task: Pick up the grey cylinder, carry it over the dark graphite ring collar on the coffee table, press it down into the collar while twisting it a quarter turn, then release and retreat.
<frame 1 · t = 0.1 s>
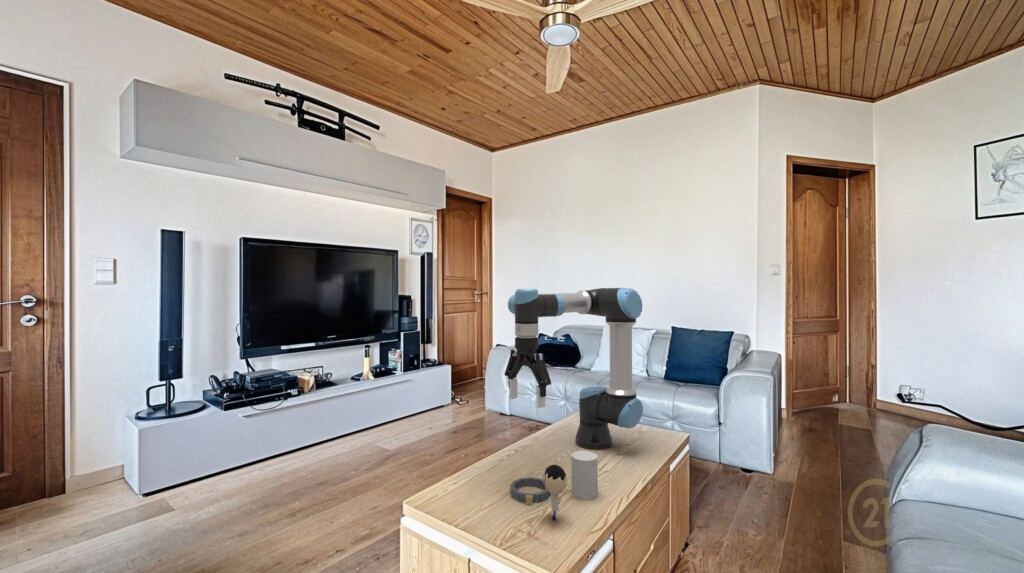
hand: (526, 402, 140), 28 cm above the table, fingers open, 13 cm apart
toy: (555, 520, 122), on the table
collar: (530, 493, 137), on the table
grey cylinder: (584, 494, 137), on the table
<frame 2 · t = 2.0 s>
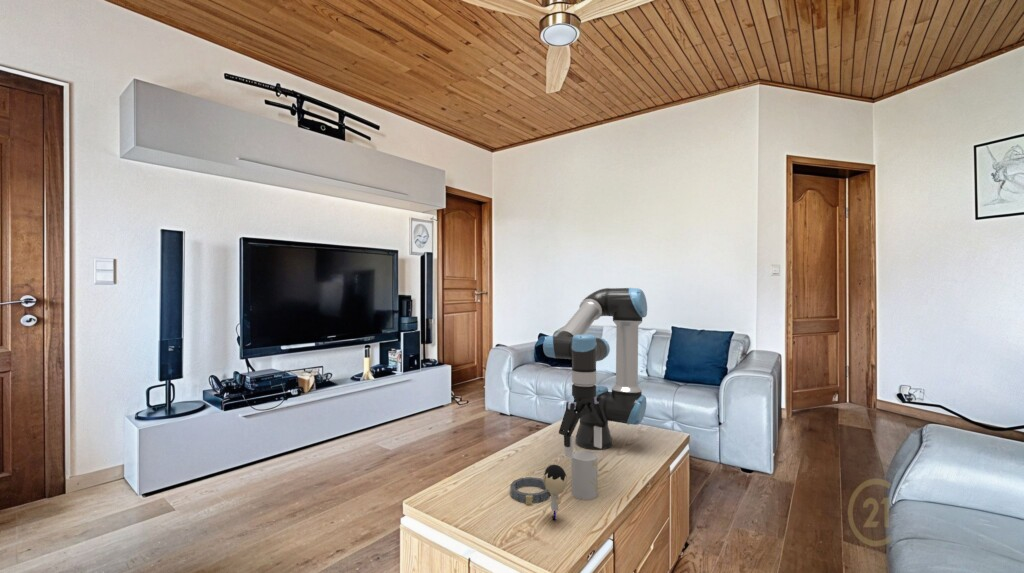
hand: (583, 452, 137), 13 cm above the table, fingers open, 13 cm apart
nothing on the table moved.
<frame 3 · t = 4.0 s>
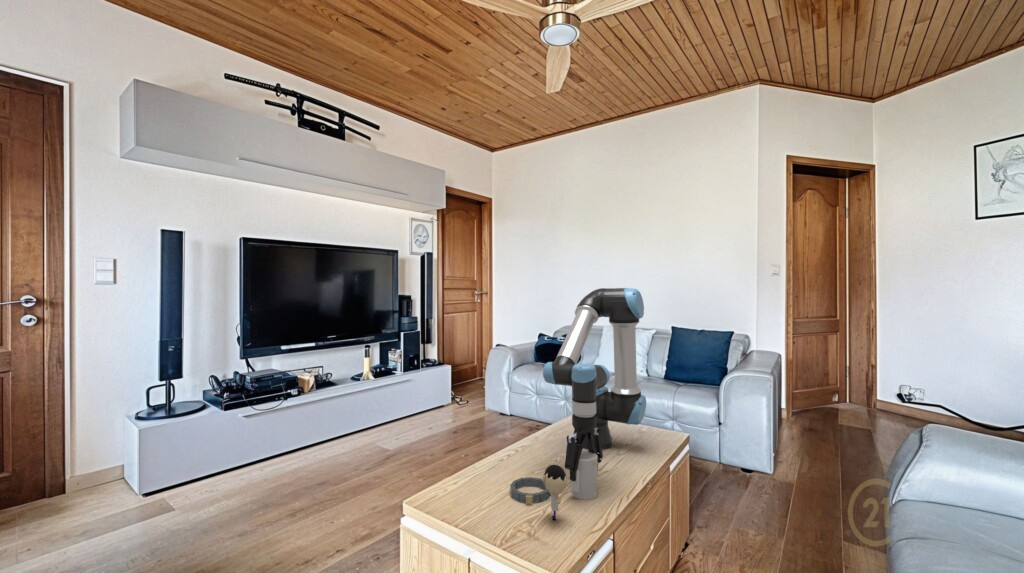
hand: (584, 486, 137), 2 cm above the table, fingers closed on grey cylinder, 8 cm apart
grey cylinder: (584, 494, 137), on the table, touching gripper
everything else where it was.
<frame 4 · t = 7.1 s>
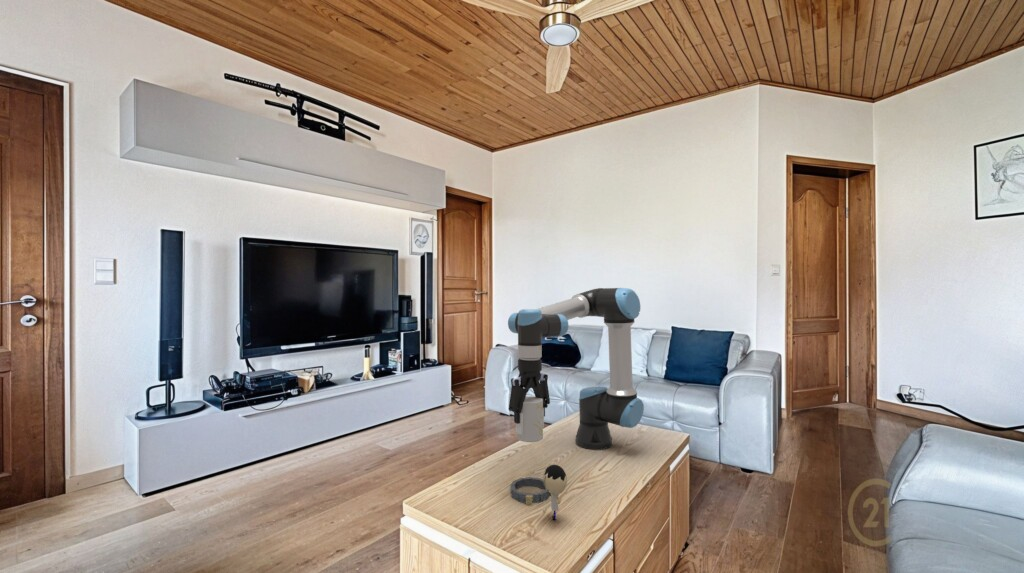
hand: (529, 430, 137), 20 cm above the table, fingers closed on grey cylinder, 8 cm apart
grey cylinder: (530, 438, 137), point 17 cm above the table, touching gripper
everything else where it was.
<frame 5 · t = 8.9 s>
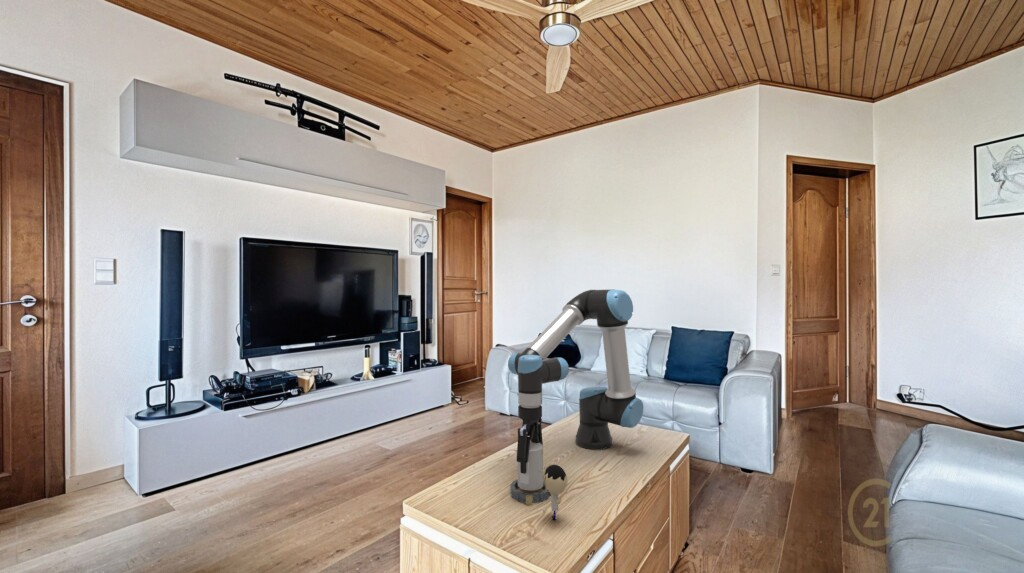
hand: (530, 477, 137), 5 cm above the table, fingers closed on grey cylinder, 8 cm apart
grey cylinder: (530, 485, 137), point 3 cm above the table, touching gripper
everything else where it was.
when the fingers open (4 cm above the table, at t = 10.4 s): grey cylinder drops 1 cm, resting in collar.
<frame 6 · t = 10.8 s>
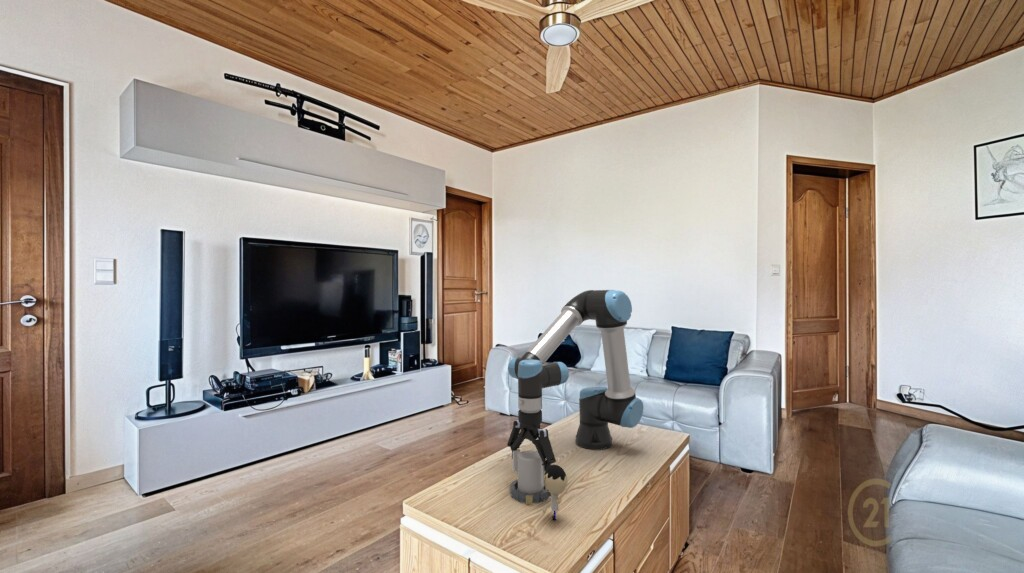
hand: (530, 477, 137), 5 cm above the table, fingers open, 13 cm apart
grey cylinder: (530, 494, 137), resting in collar
everything else where it was.
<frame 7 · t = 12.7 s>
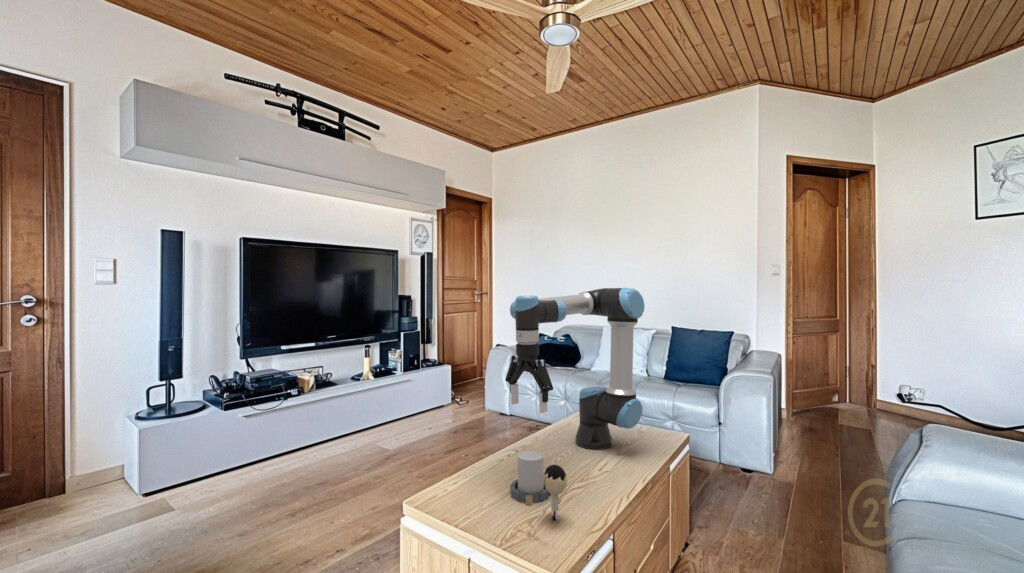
hand: (528, 407, 142), 26 cm above the table, fingers open, 13 cm apart
nothing on the table moved.
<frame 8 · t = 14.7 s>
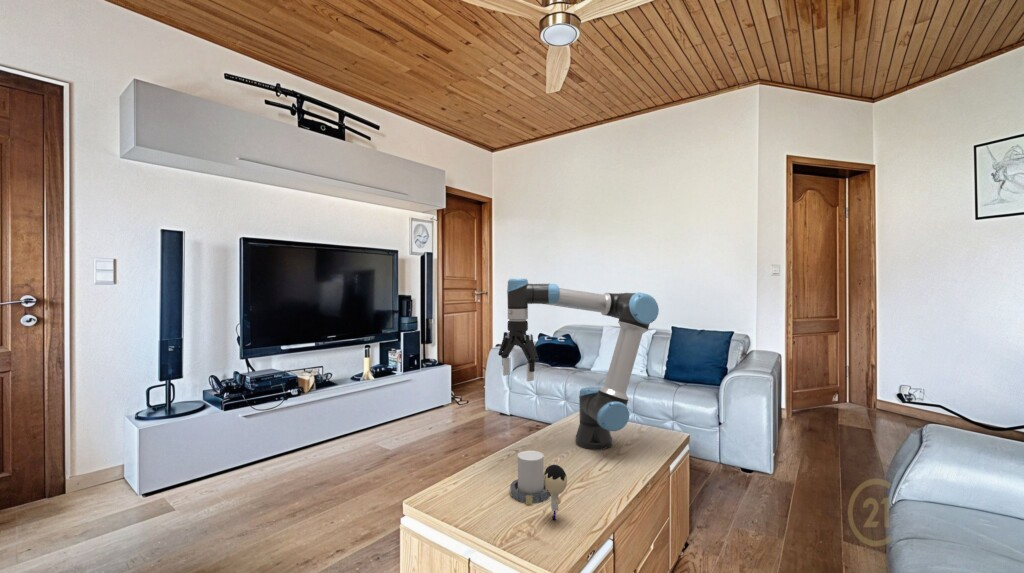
hand: (517, 377, 160), 32 cm above the table, fingers open, 13 cm apart
nothing on the table moved.
at the end: grey cylinder 0.1 cm off-centre on the collar, point 0.0 cm above the collar's base; grey cylinder tilted 0°; the gripper is holding nothing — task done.
